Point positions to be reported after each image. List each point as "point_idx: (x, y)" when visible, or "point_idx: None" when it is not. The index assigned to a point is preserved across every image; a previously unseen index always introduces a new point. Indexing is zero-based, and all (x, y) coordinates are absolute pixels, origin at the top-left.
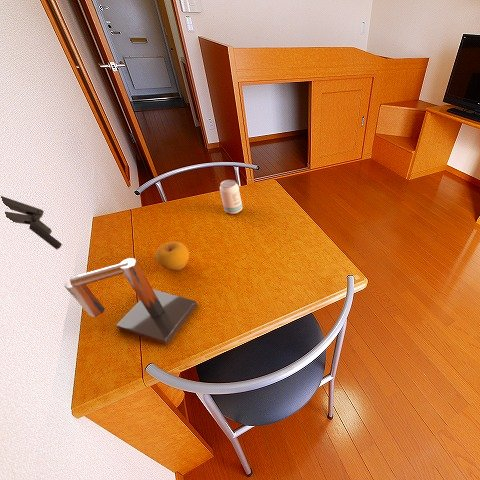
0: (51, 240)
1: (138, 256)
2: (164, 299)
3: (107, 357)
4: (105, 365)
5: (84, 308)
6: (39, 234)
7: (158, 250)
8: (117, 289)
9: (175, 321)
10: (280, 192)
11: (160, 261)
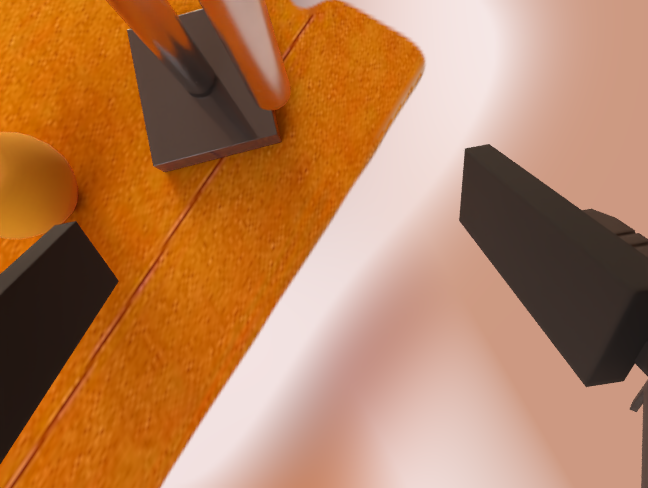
0: (44, 254)
1: (87, 347)
2: (161, 100)
3: (338, 96)
4: (352, 82)
5: (281, 58)
6: (26, 362)
7: (5, 202)
8: (204, 272)
9: (196, 20)
10: None
11: (48, 175)
